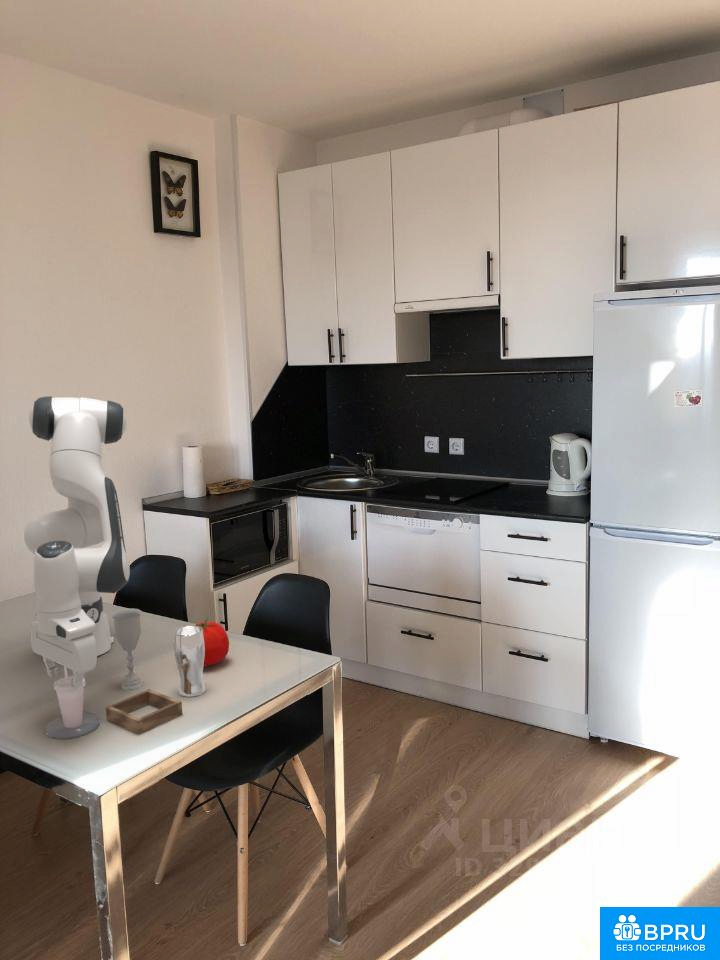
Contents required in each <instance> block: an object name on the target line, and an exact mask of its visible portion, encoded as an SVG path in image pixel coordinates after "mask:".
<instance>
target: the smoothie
mask: <svg viewBox="0 0 720 960" xmlns="http://www.w3.org/2000/svg"><path fill="white" fill-rule="evenodd" d="M63 667H64V668H63V669H64V670H63V671H64V677H61V678H58V679H57V680H56V681H54V683H53V690H55V692H56V697H57V700H58V704H59V705H58V706H59V709H60V713H61V717H62V718H63V722H64V726H65V727H66V728H75V727H78V726H80V725H81V724H82V721H83V713H84V694H85V686H86V678H85V676H83V679H82V681H83V686H82V687H80V688H78V689H76V688H74V687H72V686H71V684H72V683H71V679H73V678H74V675H70V676H68V668H67V667H65V666H63Z"/></svg>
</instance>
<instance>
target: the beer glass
mask: <svg viewBox="0 0 720 960" xmlns="http://www.w3.org/2000/svg"><path fill="white" fill-rule="evenodd" d="M173 650H174V657H175V662H176V666H177V669H178V673H179V690H178V693H179V695H180V696H182V697H186V698H187V697H188V698H191V697H198V696H200V695H203V694H204V693H205V692H206V685H205V681H204V667H205V666H204V658H205V644H204V636H203V629H202V628H201V627H199V626H195V625H187V626H181V627H178V628H176V629H175V630H174V631H173Z"/></svg>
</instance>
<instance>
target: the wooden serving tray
mask: <svg viewBox="0 0 720 960" xmlns="http://www.w3.org/2000/svg"><path fill="white" fill-rule="evenodd" d="M148 705H151V706H152V707H155V708H157V710H155V711H152V712H150V713H147V714H146V715H143V716H141V717H137V716H135V715H132V714H130V713H132V712H135V711H137V710H139V709H141V708H143V707H146V706H148ZM105 713H106V714H105V716H106V721H108V722H109V723H112V724H115V725H116V726H119V727H121V728H123V729H126V730H128V731H130V732H132V733H134V734H137V735H141V734H143V733H145V732H148V731H151V730H152V729H155V728H156V727H158V726H162V725H163V724H166V723H167V722H169V721H171V720H174V719H175V718H177V717H180V716H183V702H182V701H181V700H179V699H175V698H173V697H171V696H168V695H165V694H163V693H160V692H158V691H155V690H152V689H146V690H144V691H141V692H139V693H137V694H134V695H131V696H130V697H127V698H125V699H122V700H120V701H118V702H114V703H112V704H111V705H108V706H106V707H105Z"/></svg>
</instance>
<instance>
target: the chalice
mask: <svg viewBox="0 0 720 960" xmlns="http://www.w3.org/2000/svg"><path fill="white" fill-rule="evenodd" d="M141 614H142V610H140V609H139V608H123V609H118V610H115V611H113V612H112V613H111V617H112V619H113V624H114V626H113V627H114V635H115V637H116V639H117V642H118V643H119V645H120V647H121V648H122V650H123V651H124V652H127V658H126V660H127V663H128V664H127V666H126V667H127V668H128V674H126V675H125V676H124V678H123V681H122V685H120V686H121V688H122V689H124V690H136V689H140V688H141V687H142V686H143V685H144V683H143V681H142V678H140V677H141V676H140V675H139V674H137V673H135V672H134V667H135V664H134V663H133V660H134V657H133V654H132V652H133V651H134V650H135V649H136V647H137V646H138V643H139V640H140V637H141V633H142V632H141Z"/></svg>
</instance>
